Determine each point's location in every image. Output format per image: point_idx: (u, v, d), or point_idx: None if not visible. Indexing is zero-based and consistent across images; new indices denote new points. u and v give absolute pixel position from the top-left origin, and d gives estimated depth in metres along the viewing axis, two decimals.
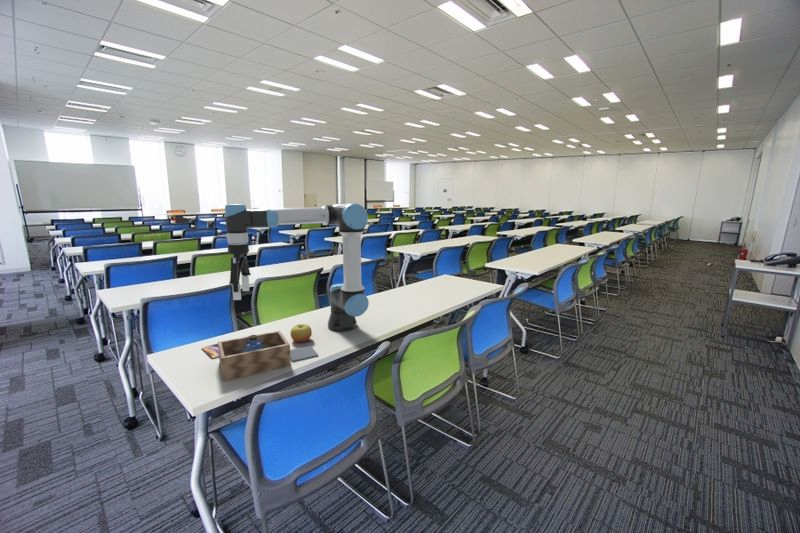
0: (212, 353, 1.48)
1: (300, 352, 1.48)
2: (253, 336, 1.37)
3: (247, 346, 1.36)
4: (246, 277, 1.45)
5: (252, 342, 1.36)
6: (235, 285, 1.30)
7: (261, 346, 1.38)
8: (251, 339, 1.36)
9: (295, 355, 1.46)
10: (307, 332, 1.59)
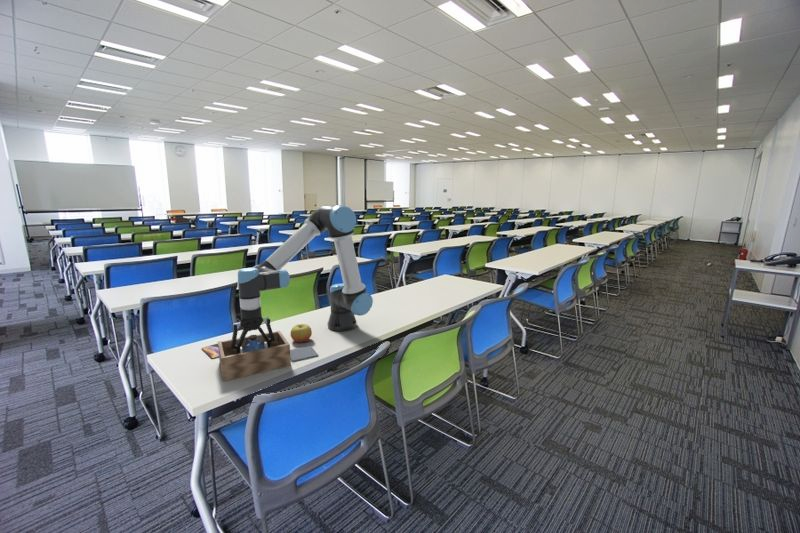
0: (212, 353, 1.48)
1: (300, 352, 1.48)
2: (253, 336, 1.37)
3: (247, 346, 1.36)
4: (265, 345, 1.39)
5: (252, 342, 1.36)
6: None
7: (261, 346, 1.38)
8: (251, 339, 1.36)
9: (295, 355, 1.46)
10: (307, 332, 1.59)
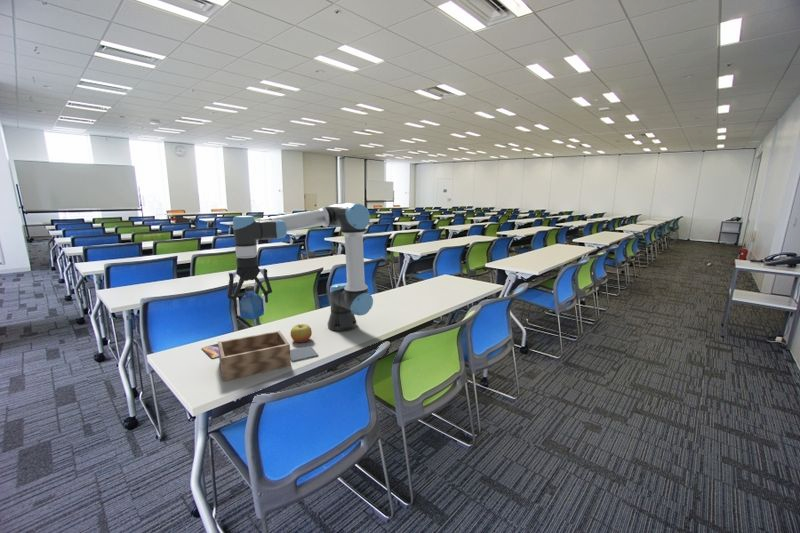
0: (212, 353, 1.48)
1: (300, 352, 1.48)
2: (250, 287, 1.33)
3: (244, 297, 1.32)
4: (262, 296, 1.36)
5: (249, 292, 1.32)
6: (233, 300, 1.31)
7: (258, 297, 1.35)
8: (248, 289, 1.32)
9: (295, 355, 1.46)
10: (307, 332, 1.59)
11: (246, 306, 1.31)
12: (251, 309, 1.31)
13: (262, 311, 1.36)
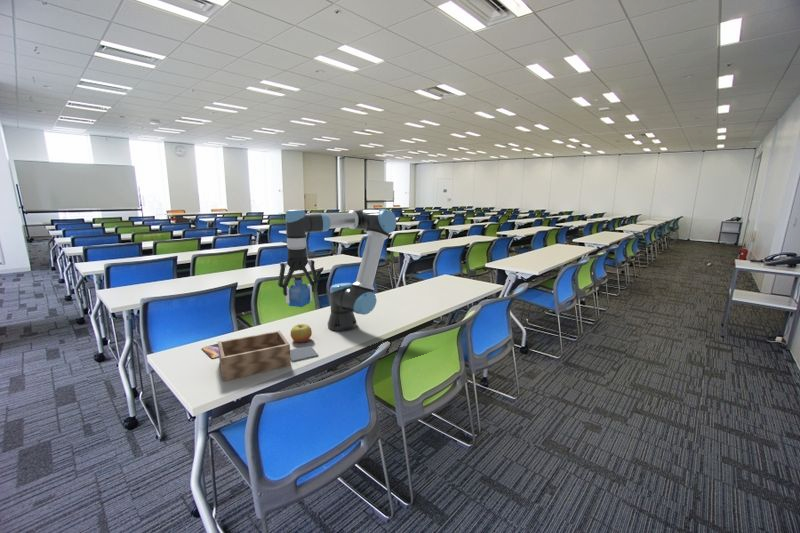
0: (212, 353, 1.48)
1: (300, 352, 1.48)
2: (298, 276, 1.42)
3: (293, 286, 1.41)
4: (309, 286, 1.45)
5: (298, 282, 1.41)
6: (283, 289, 1.40)
7: (305, 287, 1.44)
8: (297, 279, 1.41)
9: (295, 355, 1.46)
10: (307, 332, 1.59)
11: (296, 294, 1.40)
12: (300, 298, 1.40)
13: (308, 300, 1.45)
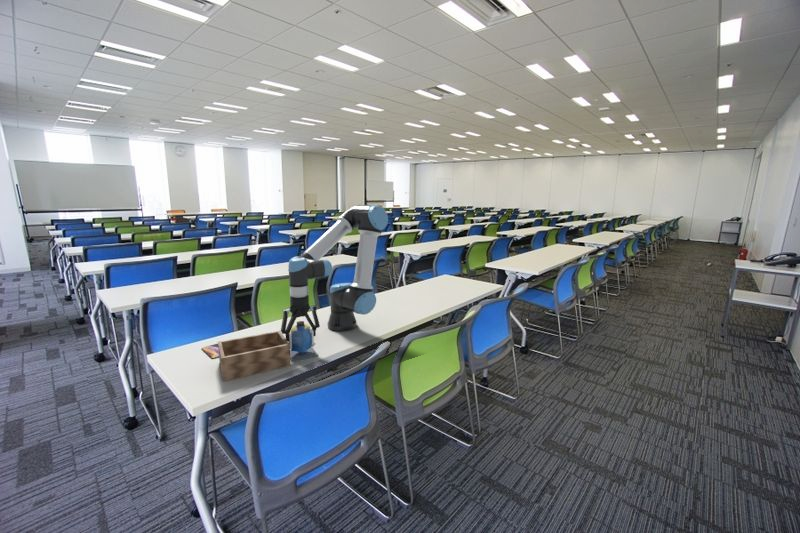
0: (212, 353, 1.48)
1: (300, 352, 1.48)
2: (301, 322, 1.46)
3: (295, 331, 1.45)
4: (311, 331, 1.48)
5: (300, 328, 1.45)
6: (286, 335, 1.43)
7: (307, 332, 1.47)
8: (299, 325, 1.45)
9: (295, 355, 1.46)
10: None
11: (298, 340, 1.44)
12: (302, 343, 1.44)
13: (310, 344, 1.49)
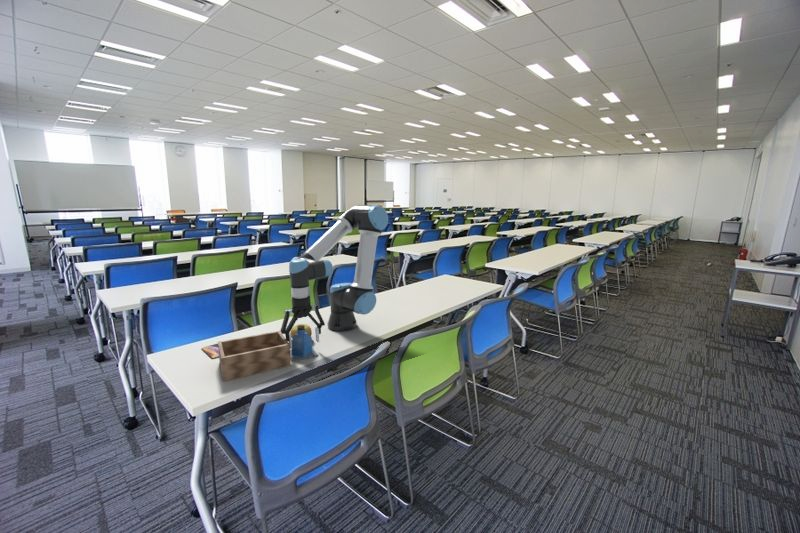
0: (212, 353, 1.48)
1: None
2: (301, 326, 1.46)
3: (296, 335, 1.45)
4: (316, 329, 1.49)
5: (300, 332, 1.45)
6: (285, 335, 1.43)
7: (308, 336, 1.48)
8: (299, 329, 1.45)
9: (295, 355, 1.46)
10: (307, 332, 1.59)
11: (298, 344, 1.44)
12: (303, 348, 1.44)
13: (310, 348, 1.49)
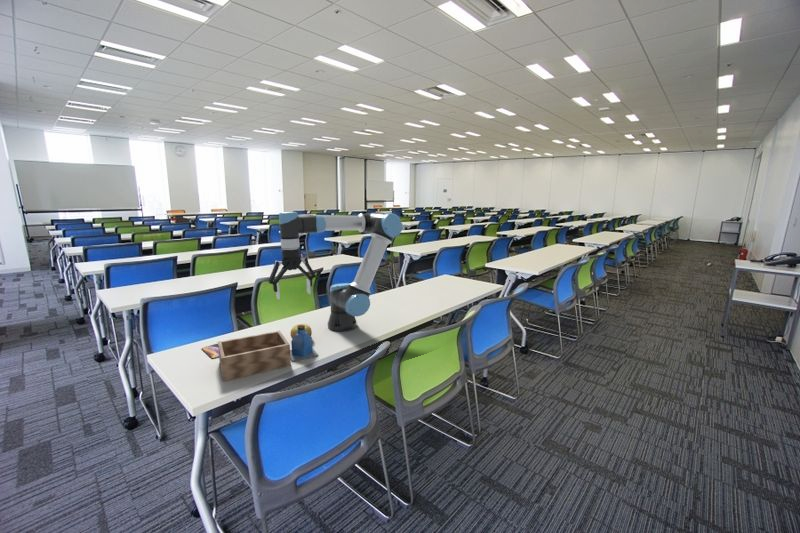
0: (212, 353, 1.48)
1: None
2: (301, 326, 1.46)
3: (296, 335, 1.45)
4: (307, 281, 1.52)
5: (301, 332, 1.45)
6: (273, 285, 1.44)
7: (308, 336, 1.48)
8: (300, 329, 1.45)
9: (295, 355, 1.46)
10: (307, 332, 1.59)
11: (299, 344, 1.44)
12: (303, 348, 1.44)
13: (311, 348, 1.49)
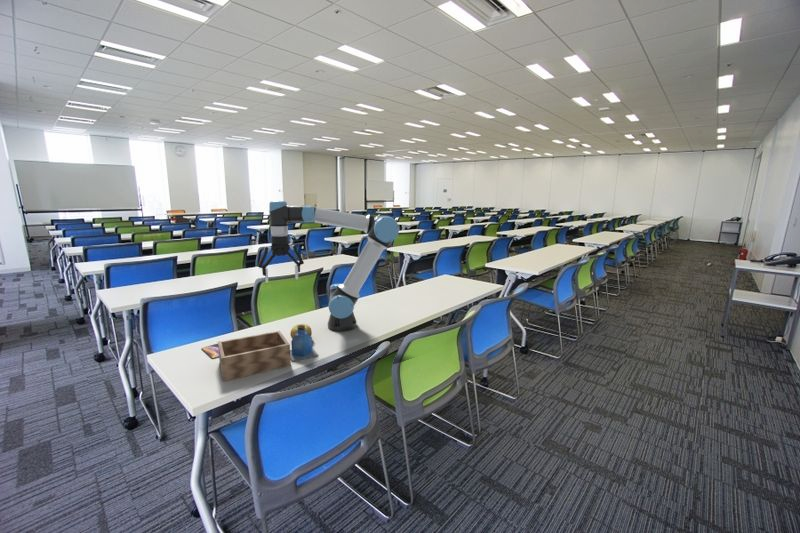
0: (212, 353, 1.48)
1: None
2: (301, 326, 1.46)
3: (296, 335, 1.45)
4: (295, 267, 1.61)
5: (301, 332, 1.45)
6: (262, 269, 1.54)
7: (308, 336, 1.48)
8: (300, 329, 1.45)
9: (295, 355, 1.46)
10: (307, 332, 1.59)
11: (299, 344, 1.44)
12: (303, 348, 1.44)
13: (311, 348, 1.49)
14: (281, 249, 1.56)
